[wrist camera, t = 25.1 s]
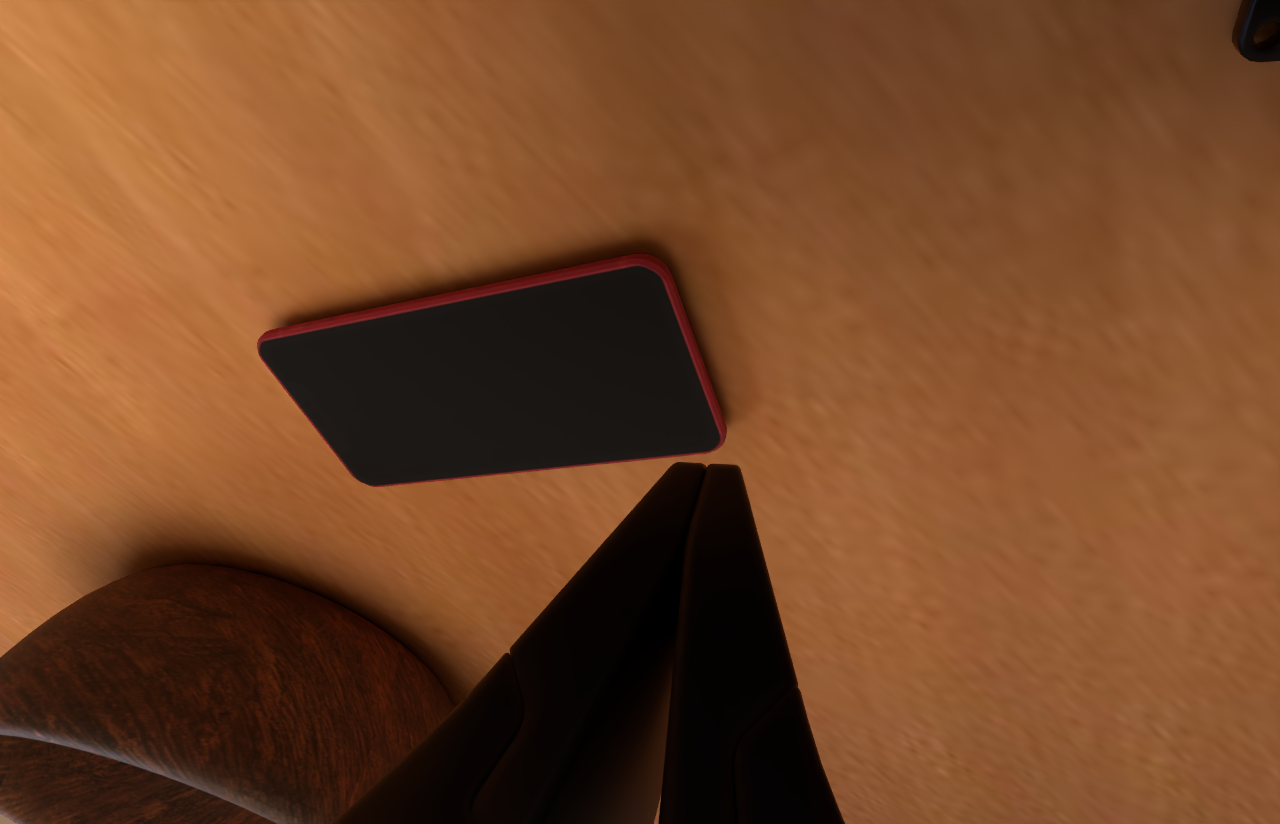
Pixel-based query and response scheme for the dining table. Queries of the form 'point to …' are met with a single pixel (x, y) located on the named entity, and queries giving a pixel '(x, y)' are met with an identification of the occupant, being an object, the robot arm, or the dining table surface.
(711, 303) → the dining table surface
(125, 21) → the dining table surface
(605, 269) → the smartphone
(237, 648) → the wooden bowl
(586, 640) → the robot arm
